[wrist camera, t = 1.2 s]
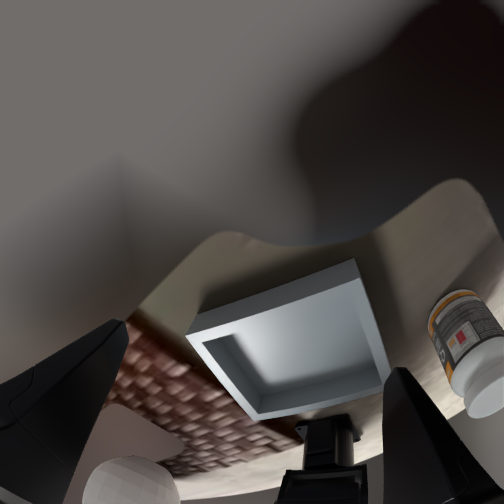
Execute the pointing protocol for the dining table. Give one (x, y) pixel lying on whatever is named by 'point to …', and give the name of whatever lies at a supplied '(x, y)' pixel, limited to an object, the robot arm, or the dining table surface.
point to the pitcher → (130, 483)
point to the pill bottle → (470, 350)
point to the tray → (296, 344)
